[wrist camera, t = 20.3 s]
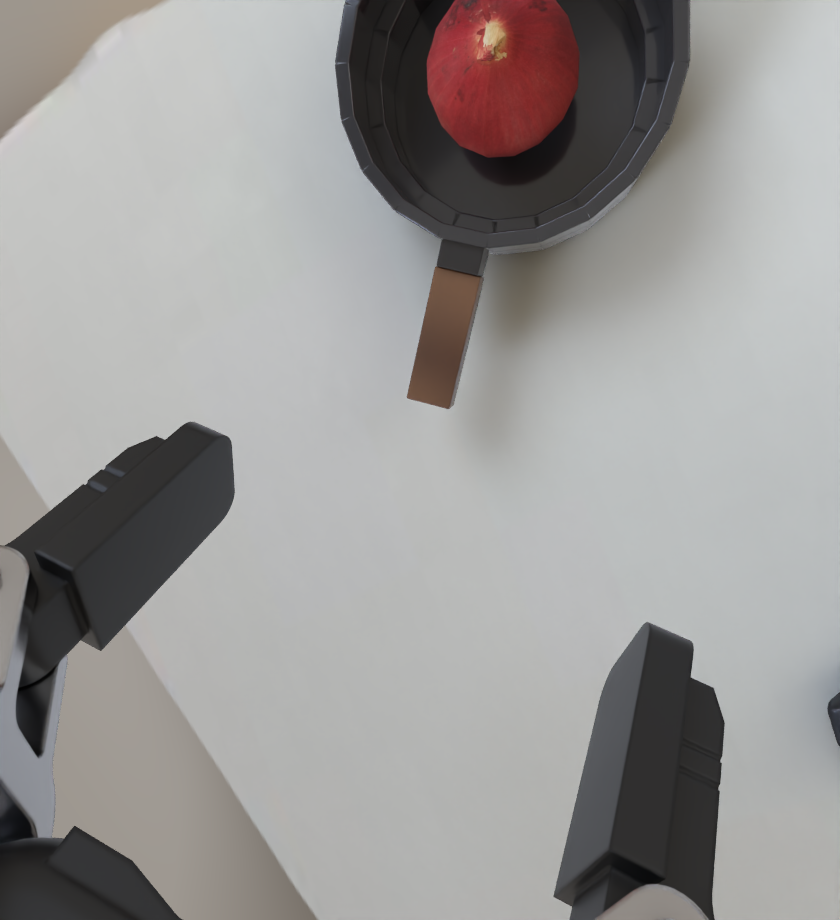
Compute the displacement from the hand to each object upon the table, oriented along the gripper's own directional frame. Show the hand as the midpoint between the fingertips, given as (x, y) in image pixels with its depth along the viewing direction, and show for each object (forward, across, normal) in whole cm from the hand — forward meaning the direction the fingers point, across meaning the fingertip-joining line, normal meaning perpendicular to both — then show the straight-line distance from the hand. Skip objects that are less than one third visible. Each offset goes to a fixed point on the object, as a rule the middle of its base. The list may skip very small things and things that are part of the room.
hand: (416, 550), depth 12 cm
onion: (+24, +6, -2) cm, 25 cm away
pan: (+24, +6, -2) cm, 25 cm away
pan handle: (+17, +5, +6) cm, 19 cm away
